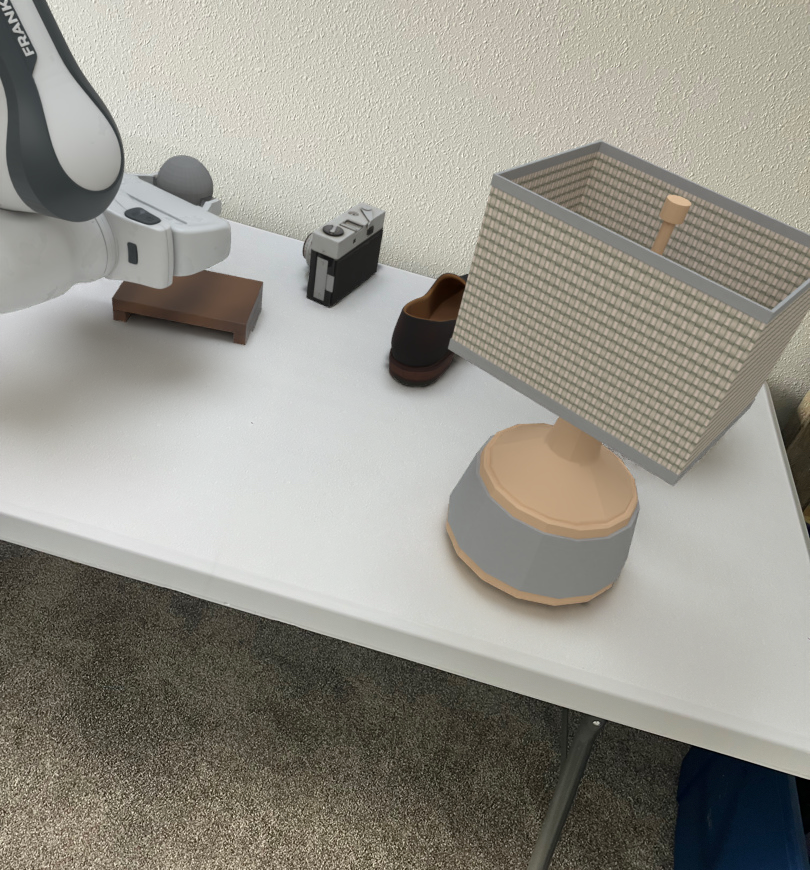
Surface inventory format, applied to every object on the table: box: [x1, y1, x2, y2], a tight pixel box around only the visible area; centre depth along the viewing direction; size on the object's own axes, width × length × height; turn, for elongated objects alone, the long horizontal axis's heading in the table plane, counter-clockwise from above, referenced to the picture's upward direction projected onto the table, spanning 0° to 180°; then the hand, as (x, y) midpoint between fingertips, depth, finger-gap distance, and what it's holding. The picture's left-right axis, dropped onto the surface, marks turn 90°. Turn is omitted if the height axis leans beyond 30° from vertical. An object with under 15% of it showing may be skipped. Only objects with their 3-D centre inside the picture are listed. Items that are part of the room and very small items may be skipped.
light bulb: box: [157, 154, 214, 207], centre depth 87 cm, size 6×6×10 cm
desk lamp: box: [445, 139, 810, 607], centre depth 69 cm, size 22×19×37 cm
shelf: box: [111, 269, 264, 346], centre depth 99 cm, size 16×11×4 cm
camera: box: [301, 201, 387, 309], centre depth 110 cm, size 14×8×10 cm, turn 154°
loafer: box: [388, 272, 469, 387], centre depth 104 cm, size 10×28×10 cm, turn 154°
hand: (191, 192), depth 87 cm, fingers closed on light bulb, 6 cm apart
